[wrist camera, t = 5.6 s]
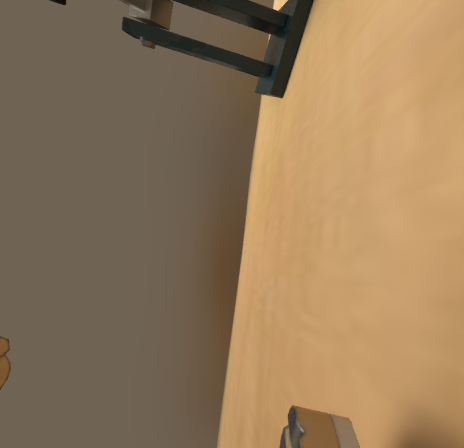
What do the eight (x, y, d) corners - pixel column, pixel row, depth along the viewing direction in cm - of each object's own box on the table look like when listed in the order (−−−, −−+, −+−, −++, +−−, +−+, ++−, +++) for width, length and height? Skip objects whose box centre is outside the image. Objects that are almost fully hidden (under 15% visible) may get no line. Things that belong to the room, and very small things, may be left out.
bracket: (316, -10, 22) (121, -86, 19) (282, 98, 25) (111, 46, 22) (287, 15, 30) (147, -36, 27) (264, 95, 33) (137, 56, 30)
